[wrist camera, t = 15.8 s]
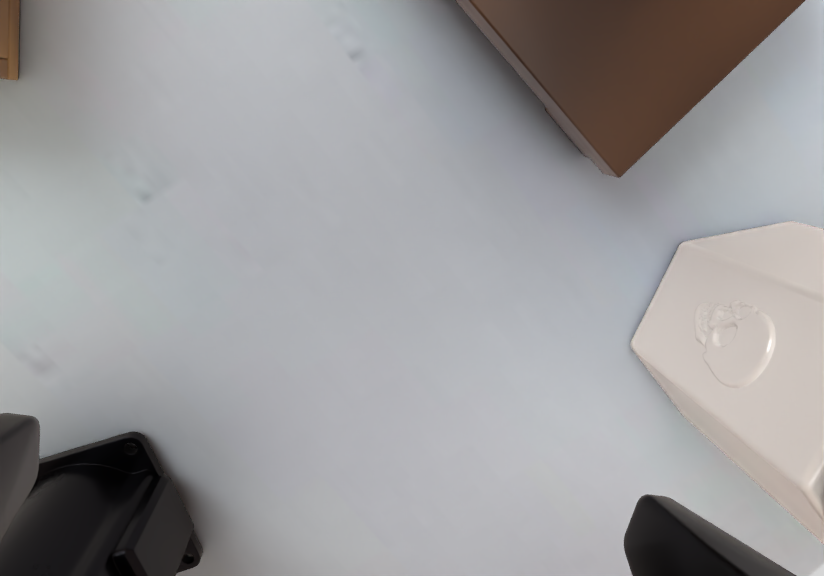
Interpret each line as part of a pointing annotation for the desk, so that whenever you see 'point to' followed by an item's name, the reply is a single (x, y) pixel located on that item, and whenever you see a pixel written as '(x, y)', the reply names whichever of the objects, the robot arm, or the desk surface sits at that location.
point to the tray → (9, 39)
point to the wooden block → (624, 61)
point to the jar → (749, 354)
